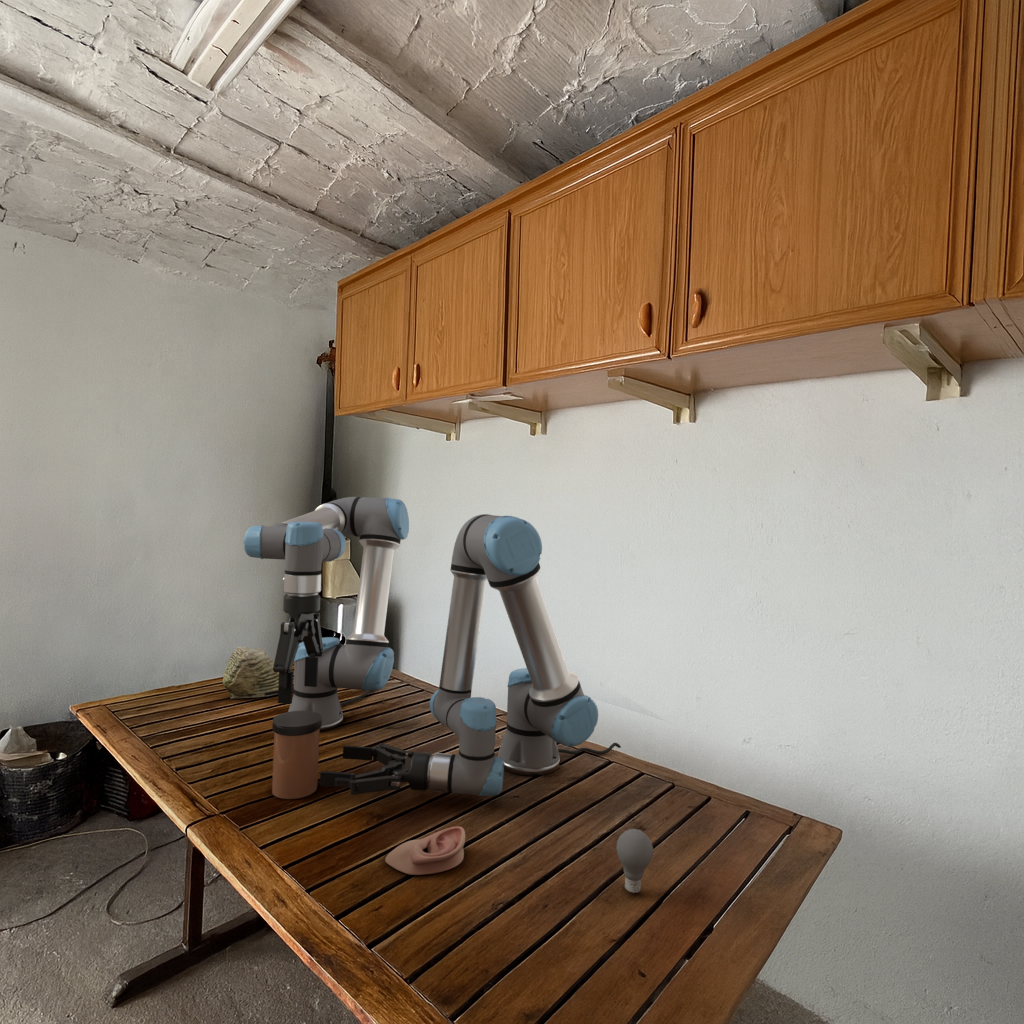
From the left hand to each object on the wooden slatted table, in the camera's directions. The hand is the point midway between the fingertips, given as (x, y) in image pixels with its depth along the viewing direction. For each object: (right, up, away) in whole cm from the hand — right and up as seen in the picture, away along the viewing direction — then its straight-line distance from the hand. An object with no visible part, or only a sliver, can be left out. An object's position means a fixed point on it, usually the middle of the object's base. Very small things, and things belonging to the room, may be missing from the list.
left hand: (298, 694), depth 136 cm
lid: (0, -6, 0) cm, 6 cm away
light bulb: (+66, -24, -31) cm, 77 cm away
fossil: (-35, -18, +62) cm, 73 cm away
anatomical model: (+31, -22, -24) cm, 45 cm away
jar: (-1, -21, 0) cm, 21 cm away
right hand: (+8, -15, -1) cm, 17 cm away
